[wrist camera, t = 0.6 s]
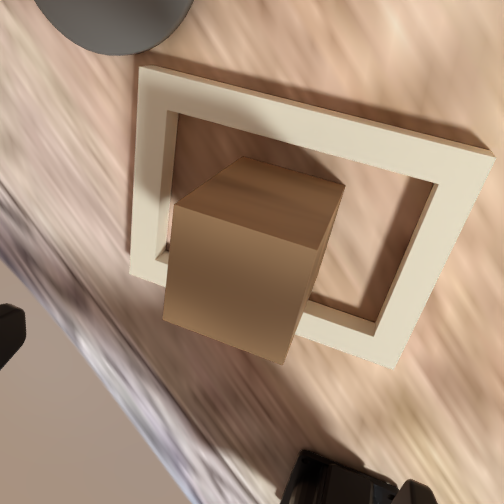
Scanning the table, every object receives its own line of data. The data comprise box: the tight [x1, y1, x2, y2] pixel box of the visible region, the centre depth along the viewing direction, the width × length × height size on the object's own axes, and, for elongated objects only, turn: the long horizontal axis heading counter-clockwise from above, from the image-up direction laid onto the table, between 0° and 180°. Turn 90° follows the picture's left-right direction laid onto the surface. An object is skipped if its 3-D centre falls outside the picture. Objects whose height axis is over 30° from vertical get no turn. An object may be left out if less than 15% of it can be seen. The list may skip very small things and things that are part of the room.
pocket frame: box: [129, 65, 496, 370], centre depth 20 cm, size 11×15×1 cm
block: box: [162, 156, 345, 365], centre depth 18 cm, size 5×5×7 cm
